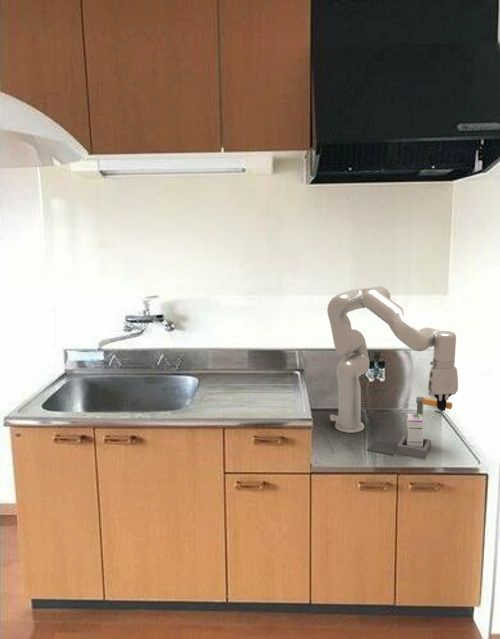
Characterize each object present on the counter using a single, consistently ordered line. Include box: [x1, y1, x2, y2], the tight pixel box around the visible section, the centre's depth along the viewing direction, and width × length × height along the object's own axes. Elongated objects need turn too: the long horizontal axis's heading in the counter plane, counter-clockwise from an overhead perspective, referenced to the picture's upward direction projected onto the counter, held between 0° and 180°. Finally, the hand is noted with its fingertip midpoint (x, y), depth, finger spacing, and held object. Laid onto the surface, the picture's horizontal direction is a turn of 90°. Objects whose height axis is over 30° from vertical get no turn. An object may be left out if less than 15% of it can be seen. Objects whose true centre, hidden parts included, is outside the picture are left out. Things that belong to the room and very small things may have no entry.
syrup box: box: [406, 412, 424, 449], centre depth 193 cm, size 6×6×14 cm
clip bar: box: [415, 396, 453, 410], centre depth 195 cm, size 3×14×2 cm, turn 54°
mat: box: [366, 439, 399, 456], centre depth 198 cm, size 10×10×1 cm
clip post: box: [416, 403, 424, 419], centre depth 200 cm, size 6×5×16 cm
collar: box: [397, 434, 432, 460], centre depth 194 cm, size 10×10×4 cm
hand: (441, 409), depth 191 cm, fingers closed
